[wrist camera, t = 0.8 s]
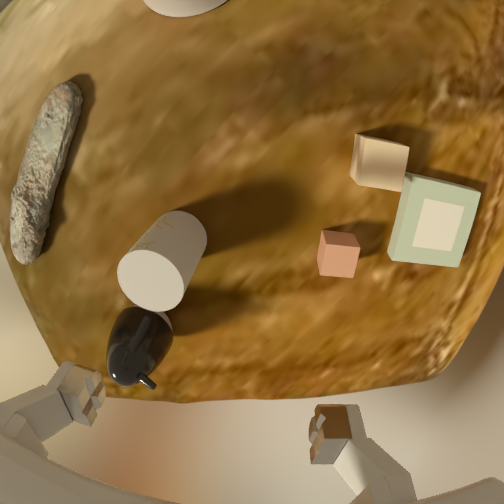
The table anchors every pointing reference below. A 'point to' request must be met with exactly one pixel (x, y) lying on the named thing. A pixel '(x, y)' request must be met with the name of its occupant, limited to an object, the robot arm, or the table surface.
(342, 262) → the terracotta block
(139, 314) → the pump dispenser
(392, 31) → the table surface
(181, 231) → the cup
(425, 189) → the sage base
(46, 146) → the elongated rock
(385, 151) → the beech block
